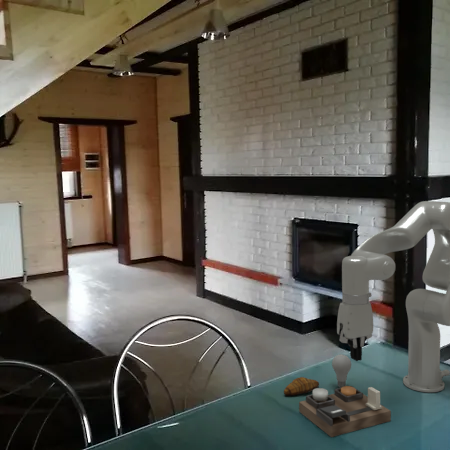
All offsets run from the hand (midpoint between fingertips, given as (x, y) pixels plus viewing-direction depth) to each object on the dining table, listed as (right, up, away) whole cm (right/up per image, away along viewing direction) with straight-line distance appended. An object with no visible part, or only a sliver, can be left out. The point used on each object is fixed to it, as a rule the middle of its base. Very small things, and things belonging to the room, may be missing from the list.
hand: (356, 359), depth 149 cm
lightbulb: (-1, -14, +15) cm, 20 cm away
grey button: (-11, -11, -2) cm, 15 cm away
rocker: (-9, -12, -11) cm, 19 cm away
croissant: (-14, -14, +13) cm, 24 cm away
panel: (-5, -15, -4) cm, 17 cm away
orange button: (-2, -11, +2) cm, 12 cm away
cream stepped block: (+4, -12, -6) cm, 14 cm away
